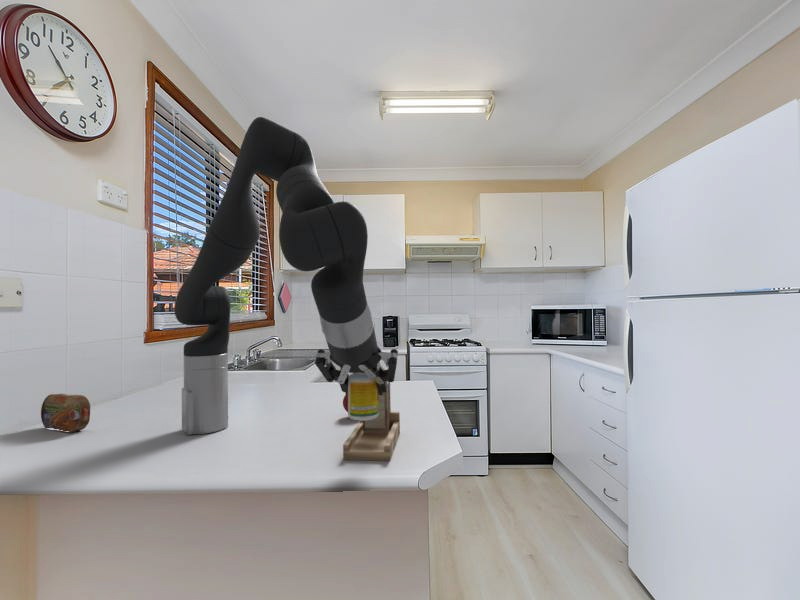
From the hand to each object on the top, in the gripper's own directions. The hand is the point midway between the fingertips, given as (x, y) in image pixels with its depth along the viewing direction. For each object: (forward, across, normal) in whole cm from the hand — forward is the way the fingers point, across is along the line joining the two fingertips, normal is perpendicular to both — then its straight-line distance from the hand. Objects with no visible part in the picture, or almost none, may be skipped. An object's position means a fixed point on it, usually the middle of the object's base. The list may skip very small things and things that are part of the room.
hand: (365, 390), depth 71 cm
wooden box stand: (+14, 0, +3) cm, 14 cm away
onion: (+28, +8, -10) cm, 31 cm away
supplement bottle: (+2, 0, +4) cm, 5 cm away
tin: (+19, +75, 0) cm, 77 cm away
